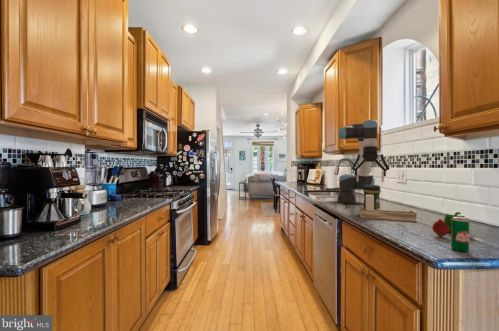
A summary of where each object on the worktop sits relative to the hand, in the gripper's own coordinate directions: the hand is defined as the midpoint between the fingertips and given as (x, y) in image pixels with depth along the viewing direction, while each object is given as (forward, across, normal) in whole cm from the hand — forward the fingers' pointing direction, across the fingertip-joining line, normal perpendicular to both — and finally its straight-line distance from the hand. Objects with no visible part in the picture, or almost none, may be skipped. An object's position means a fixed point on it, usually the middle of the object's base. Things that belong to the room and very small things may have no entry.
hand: (369, 181), depth 149 cm
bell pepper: (+22, +33, -24) cm, 46 cm away
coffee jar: (+21, +2, +12) cm, 24 cm away
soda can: (+22, +24, -52) cm, 62 cm away
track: (+21, +9, 0) cm, 23 cm away
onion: (+22, +24, -34) cm, 47 cm away
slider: (+18, 0, 0) cm, 19 cm away
